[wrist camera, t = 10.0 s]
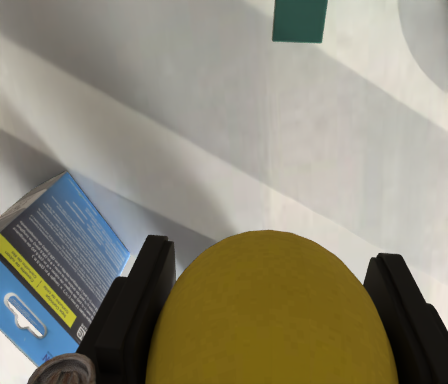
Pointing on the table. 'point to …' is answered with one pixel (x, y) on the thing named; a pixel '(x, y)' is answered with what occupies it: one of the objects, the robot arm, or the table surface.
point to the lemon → (269, 318)
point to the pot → (299, 21)
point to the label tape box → (55, 267)
